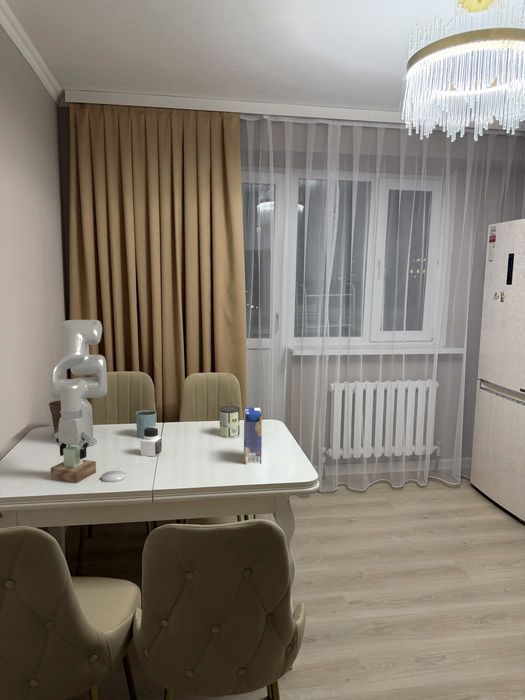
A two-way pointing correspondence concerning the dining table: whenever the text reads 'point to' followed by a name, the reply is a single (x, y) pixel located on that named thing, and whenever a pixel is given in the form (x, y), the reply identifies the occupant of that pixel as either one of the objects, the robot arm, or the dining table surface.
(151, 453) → the medicine bottle
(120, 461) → the dining table surface
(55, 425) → the plant pot
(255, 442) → the beverage box
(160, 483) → the dining table surface
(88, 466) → the walnut block
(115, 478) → the white domed disc
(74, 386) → the robot arm
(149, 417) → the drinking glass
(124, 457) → the dining table surface
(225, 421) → the coffee can
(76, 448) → the sage block
